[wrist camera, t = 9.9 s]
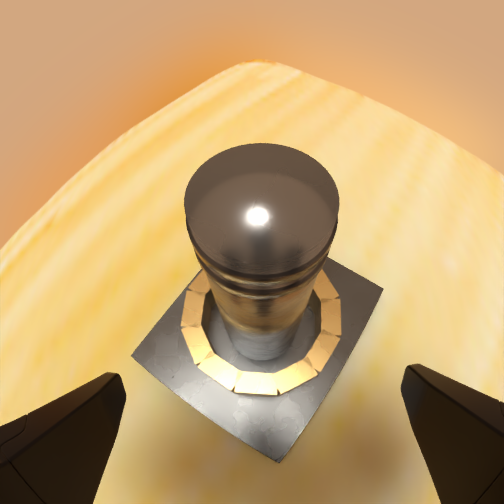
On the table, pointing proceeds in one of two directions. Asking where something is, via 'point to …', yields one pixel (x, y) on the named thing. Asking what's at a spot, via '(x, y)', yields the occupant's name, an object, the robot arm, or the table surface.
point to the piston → (261, 239)
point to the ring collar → (259, 371)
